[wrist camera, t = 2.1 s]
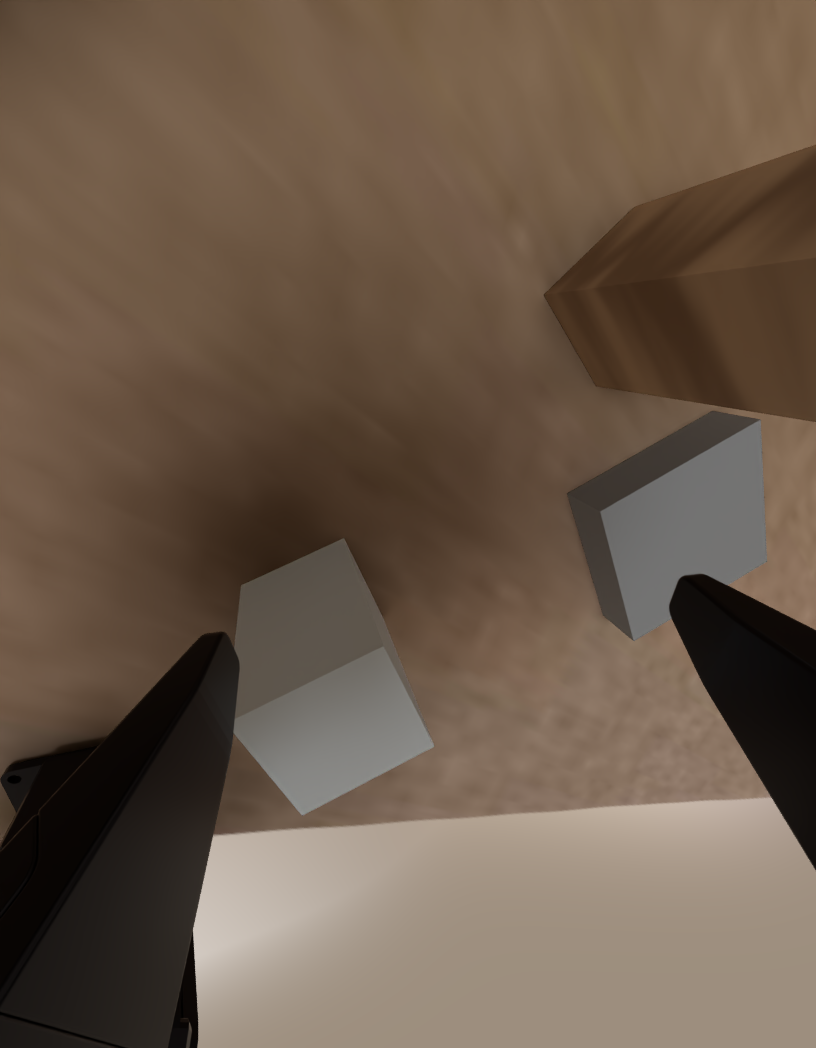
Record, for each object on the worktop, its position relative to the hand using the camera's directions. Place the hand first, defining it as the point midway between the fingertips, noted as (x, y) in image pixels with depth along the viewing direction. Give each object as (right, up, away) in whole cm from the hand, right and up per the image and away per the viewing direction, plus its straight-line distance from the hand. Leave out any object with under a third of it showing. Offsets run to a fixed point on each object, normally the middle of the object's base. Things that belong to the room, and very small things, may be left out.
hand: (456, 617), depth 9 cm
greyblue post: (-5, -2, +12) cm, 14 cm away
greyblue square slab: (+13, +2, +17) cm, 21 cm away
